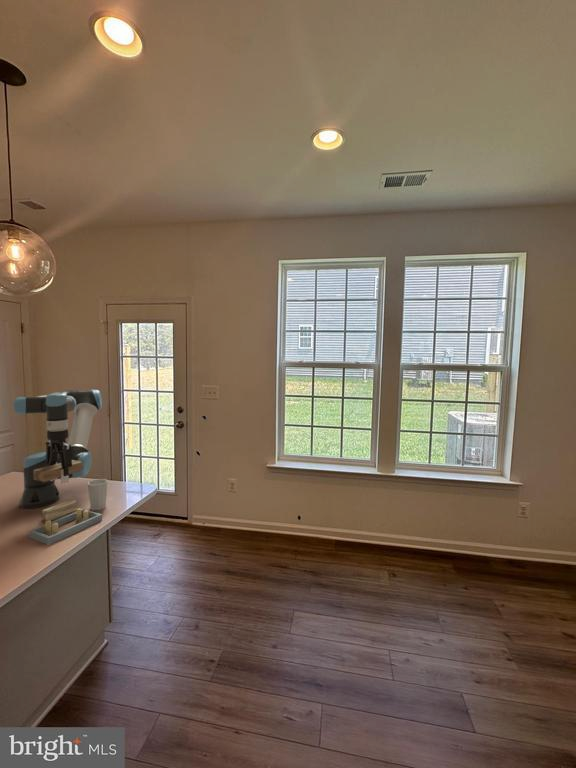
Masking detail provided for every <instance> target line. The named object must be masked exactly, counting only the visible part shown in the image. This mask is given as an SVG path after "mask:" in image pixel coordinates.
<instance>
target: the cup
mask: <svg viewBox="0 0 576 768" xmlns="http://www.w3.org/2000/svg"><path fill="white" fill-rule="evenodd" d="M87 488H88V498H89V504H90V505H89V508H90V511H99V510H103V509H105V508H106V507H107V494H108V493H107V492H108V491H107V490H108V479H106V478H97V479H92V480H90V481H88V482H87Z"/></svg>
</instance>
